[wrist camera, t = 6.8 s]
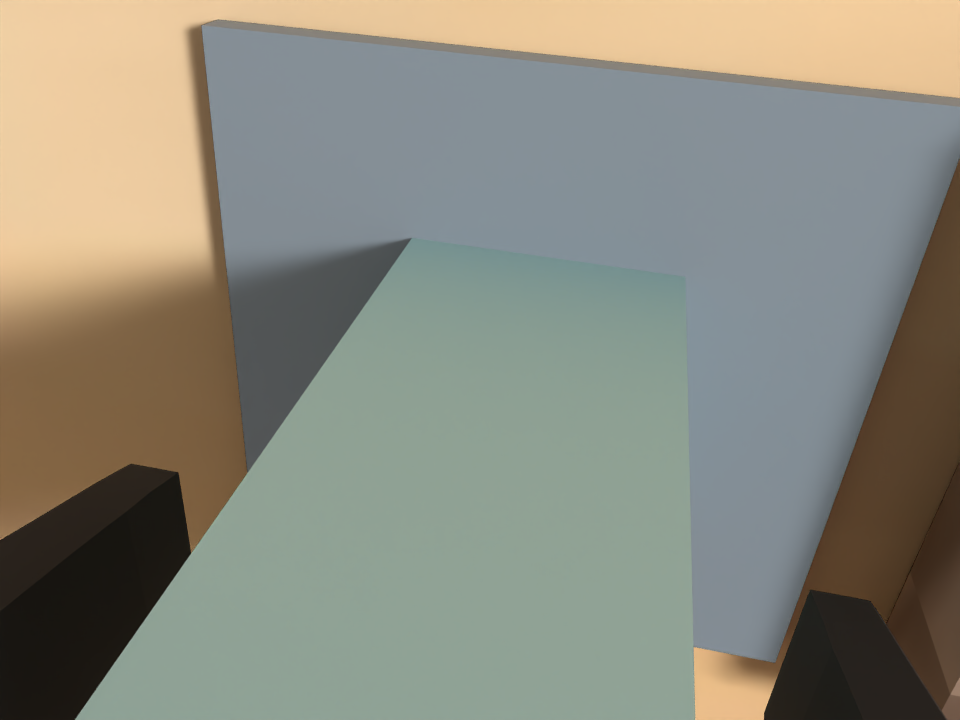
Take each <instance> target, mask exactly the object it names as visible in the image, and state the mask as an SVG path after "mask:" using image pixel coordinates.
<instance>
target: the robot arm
mask: <svg viewBox="0 0 960 720" xmlns="http://www.w3.org/2000/svg"><path fill="white" fill-rule="evenodd" d="M190 555H191V550H190V544H189V537H188V531H187V524H186V518H185V512H184V505H183V499H182V493H181V486H180V480H179V474H178V472H173V471H167V470H162V469H157V468H151V467H146V466H140V465H135V464H129V465H128V466H126V467H124V468H122V469H120V470H118V471H117V472H115V473H113V474H111V475H109V476H108V477H106V478H104V479H102V480H101V481H99V482H97V483H96V484H94V485H92V486H90V487H89V488H87V489H85V490H84V491H82V492H80V493H79V494H77V495H75V496H74V497H72V498H70V499H69V500H67V501H65V502H64V503H62V504H60V505H59V506H57V507H55V508H54V509H52V510H50V511H49V512H47V513H45V514H44V515H42V516H40V517H39V518H37V519H35V520H34V521H32V522H30V523H29V524H27V525H25V526H24V527H22V528H20V529H18V530H17V531H15V532H13V533H12V534H10V535H8V536H7V537H5V538H3V539H1V540H0V720H75V719H76V718H77V716H78V715H79V713H80V712H81V710H82V709H83V708H84V706H85V705H86V703H87V702H88V700H89V699H90V698H91V696H92V695H93V693H94V692H95V690H96V689H97V688H98V686H99V685H100V683H101V682H102V680H103V679H104V678H105V676H106V675H107V673H108V672H109V670H110V669H111V668H112V666H113V665H114V663H115V662H116V660H117V659H118V658H119V656H120V655H121V653H122V652H123V650H124V649H125V648H126V646H127V645H128V643H129V642H130V640H131V639H132V638H133V636H134V635H135V633H136V632H137V630H138V629H139V628H140V626H141V625H142V623H143V622H144V620H145V619H146V617H147V616H148V615H149V613H150V612H151V610H152V609H153V607H154V606H155V605H156V603H157V602H158V600H159V599H160V597H161V596H162V595H163V593H164V592H165V590H166V589H167V587H168V586H169V585H170V583H171V582H172V580H173V579H174V577H175V576H176V575H177V573H178V572H179V570H180V569H181V567H182V566H183V565H184V563H185V562H186V560H187V559H188V557H189V556H190ZM764 720H947V719H946V717H945V715H944V714H943V712H942V711H941V709H940V708H939V706H938V705H937V703H936V702H935V700H934V699H933V697H932V696H931V694H930V692H929V691H928V689H927V688H926V686H925V685H924V683H923V682H922V680H921V679H920V677H919V675H918V674H917V672H916V671H915V669H914V668H913V666H912V664H911V663H910V661H909V660H908V658H907V657H906V655H905V653H904V652H903V650H902V649H901V647H900V646H899V644H898V642H897V641H896V639H895V638H894V636H893V635H892V633H891V631H890V630H889V628H888V627H887V625H886V624H885V622H884V620H883V619H882V617H881V616H880V614H879V613H878V611H877V610H876V608H875V607H874V606H873V604H872V603H871V601H868V600H863V599H858V598H852V597H847V596H842V595H836V594H831V593H825V592H820V591H815V590H810V591H809V594H808V597H807V599H806V602H805V605H804V607H803V610H802V613H801V615H800V618H799V621H798V623H797V626H796V629H795V632H794V634H793V637H792V640H791V642H790V645H789V648H788V650H787V653H786V656H785V658H784V661H783V664H782V666H781V669H780V672H779V674H778V677H777V680H776V683H775V685H774V688H773V691H772V693H771V696H770V699H769V701H768V704H767V707H766V709H765V712H764Z"/></svg>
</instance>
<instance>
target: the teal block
mask: <svg viewBox="0 0 960 720" xmlns="http://www.w3.org/2000/svg"><path fill="white" fill-rule="evenodd" d="M75 720H695V694H694V649H693V603H692V558H691V512H690V467H689V421H688V376H687V331H686V285H685V277H683V276H676V275H669V274H662V273H655V272H648V271H641V270H634V269H627V268H620V267H613V266H606V265H599V264H592V263H585V262H578V261H571V260H564V259H557V258H550V257H543V256H536V255H529V254H522V253H515V252H508V251H501V250H494V249H487V248H480V247H473V246H466V245H459V244H452V243H445V242H438V241H431V240H424V239H417V238H412V239H411V240H410V242H409V243H408V245H407V246H406V247H405V249H404V250H403V252H402V253H401V255H400V256H399V257H398V259H397V260H396V262H395V263H394V265H393V266H392V267H391V269H390V270H389V272H388V273H387V275H386V276H385V277H384V279H383V280H382V282H381V283H380V285H379V286H378V287H377V289H376V290H375V292H374V293H373V295H372V296H371V297H370V299H369V300H368V302H367V303H366V305H365V306H364V307H363V309H362V310H361V312H360V313H359V315H358V316H357V317H356V319H355V320H354V322H353V323H352V325H351V326H350V327H349V329H348V330H347V332H346V333H345V335H344V336H343V337H342V339H341V340H340V342H339V343H338V345H337V346H336V347H335V349H334V350H333V352H332V353H331V355H330V356H329V357H328V359H327V360H326V362H325V363H324V365H323V366H322V367H321V369H320V370H319V372H318V373H317V375H316V376H315V377H314V379H313V380H312V382H311V383H310V385H309V386H308V387H307V389H306V390H305V392H304V393H303V395H302V396H301V397H300V399H299V400H298V402H297V403H296V405H295V406H294V407H293V409H292V410H291V412H290V413H289V415H288V416H287V417H286V419H285V420H284V422H283V423H282V425H281V426H280V427H279V429H278V430H277V432H276V433H275V435H274V436H273V437H272V439H271V440H270V442H269V443H268V445H267V446H266V447H265V449H264V450H263V452H262V453H261V455H260V456H259V457H258V459H257V460H256V462H255V463H254V465H253V466H252V467H251V469H250V470H249V472H248V473H247V475H246V476H245V477H244V479H243V480H242V482H241V483H240V485H239V486H238V487H237V489H236V490H235V492H234V493H233V495H232V496H231V497H230V499H229V500H228V502H227V503H226V505H225V506H224V507H223V509H222V510H221V512H220V513H219V515H218V516H217V517H216V519H215V520H214V522H213V523H212V525H211V526H210V527H209V529H208V530H207V532H206V533H205V535H204V536H203V537H202V539H201V540H200V542H199V543H198V545H197V546H196V547H195V549H194V550H193V552H192V553H191V555H190V556H189V557H188V559H187V560H186V562H185V563H184V565H183V566H182V567H181V569H180V570H179V572H178V573H177V575H176V576H175V577H174V579H173V580H172V582H171V583H170V585H169V586H168V587H167V589H166V590H165V592H164V593H163V595H162V596H161V597H160V599H159V600H158V602H157V603H156V605H155V606H154V607H153V609H152V610H151V612H150V613H149V615H148V616H147V617H146V619H145V620H144V622H143V623H142V625H141V626H140V628H139V629H138V630H137V632H136V633H135V635H134V636H133V638H132V639H131V640H130V642H129V643H128V645H127V646H126V648H125V649H124V650H123V652H122V653H121V655H120V656H119V658H118V659H117V660H116V662H115V663H114V665H113V666H112V668H111V669H110V670H109V672H108V673H107V675H106V676H105V678H104V679H103V680H102V682H101V683H100V685H99V686H98V688H97V689H96V690H95V692H94V693H93V695H92V696H91V698H90V699H89V700H88V702H87V703H86V705H85V706H84V708H83V709H82V710H81V712H80V713H79V715H78V716H77V718H76V719H75Z"/></svg>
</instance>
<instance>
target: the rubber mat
mask: <svg viewBox="0 0 960 720" xmlns="http://www.w3.org/2000/svg"><path fill="white" fill-rule="evenodd" d="M201 26H202V35H203V45H204V55H205V64H206V74H207V84H208V94H209V103H210V113H211V123H212V133H213V142H214V152H215V162H216V171H217V181H218V191H219V201H220V210H221V220H222V230H223V240H224V249H225V259H226V269H227V278H228V288H229V298H230V308H231V317H232V327H233V337H234V347H235V356H236V366H237V376H238V385H239V395H240V405H241V415H242V424H243V434H244V444H245V454H246V463H247V473H248V472H249V470H250V469H251V467H252V466H253V465H254V463H255V462H256V460H257V459H258V457H259V456H260V455H261V453H262V452H263V450H264V449H265V447H266V446H267V445H268V443H269V442H270V440H271V439H272V437H273V436H274V435H275V433H276V432H277V430H278V429H279V427H280V426H281V425H282V423H283V422H284V420H285V419H286V417H287V416H288V415H289V413H290V412H291V410H292V409H293V407H294V406H295V405H296V403H297V402H298V400H299V399H300V397H301V396H302V395H303V393H304V392H305V390H306V389H307V387H308V386H309V385H310V383H311V382H312V380H313V379H314V377H315V376H316V375H317V373H318V372H319V370H320V369H321V367H322V366H323V365H324V363H325V362H326V360H327V359H328V357H329V356H330V355H331V353H332V352H333V350H334V349H335V347H336V346H337V345H338V343H339V342H340V340H341V339H342V337H343V336H344V335H345V333H346V332H347V330H348V329H349V327H350V326H351V325H352V323H353V322H354V320H355V319H356V317H357V316H358V315H359V313H360V312H361V310H362V309H363V307H364V306H365V305H366V303H367V302H368V300H369V299H370V297H371V296H372V295H373V293H374V292H375V290H376V289H377V287H378V286H379V285H380V283H381V282H382V280H383V279H384V277H385V276H386V275H387V273H388V272H389V270H390V269H391V267H392V266H393V265H394V263H395V262H396V260H397V259H398V257H399V256H400V255H401V253H402V252H403V250H404V249H405V247H406V246H407V245H408V243H409V242H410V240H411V239H412V238H417V239H424V240H431V241H438V242H445V243H452V244H459V245H466V246H473V247H480V248H487V249H494V250H501V251H508V252H515V253H522V254H529V255H536V256H543V257H550V258H557V259H564V260H571V261H578V262H585V263H592V264H599V265H606V266H613V267H620V268H627V269H634V270H641V271H648V272H655V273H662V274H669V275H676V276H683V277H685V285H686V331H687V376H688V421H689V467H690V512H691V558H692V603H693V647H697V648H702V649H707V650H713V651H718V652H723V653H728V654H733V655H738V656H743V657H748V658H753V659H758V660H763V661H768V662H773V663H775V662H776V659H777V656H778V654H779V651H780V648H781V645H782V643H783V640H784V637H785V635H786V632H787V629H788V626H789V624H790V621H791V618H792V615H793V613H794V610H795V607H796V604H797V602H798V599H799V596H800V593H801V591H802V588H803V585H804V583H805V580H806V577H807V574H808V572H809V569H810V566H811V563H812V561H813V558H814V555H815V552H816V550H817V547H818V544H819V541H820V539H821V536H822V533H823V531H824V528H825V525H826V522H827V520H828V517H829V514H830V511H831V509H832V506H833V503H834V500H835V498H836V495H837V492H838V490H839V487H840V484H841V481H842V479H843V476H844V473H845V470H846V468H847V465H848V462H849V459H850V457H851V454H852V451H853V448H854V446H855V443H856V440H857V438H858V435H859V432H860V429H861V427H862V424H863V421H864V418H865V416H866V413H867V410H868V407H869V405H870V402H871V399H872V396H873V394H874V391H875V388H876V386H877V383H878V380H879V377H880V375H881V372H882V369H883V366H884V364H885V361H886V358H887V355H888V353H889V350H890V347H891V344H892V342H893V339H894V336H895V334H896V331H897V328H898V325H899V323H900V320H901V317H902V314H903V312H904V309H905V306H906V303H907V301H908V298H909V295H910V292H911V290H912V287H913V284H914V282H915V279H916V276H917V273H918V271H919V268H920V265H921V262H922V260H923V257H924V254H925V251H926V249H927V246H928V243H929V241H930V238H931V235H932V232H933V230H934V227H935V224H936V221H937V219H938V216H939V213H940V210H941V208H942V205H943V202H944V199H945V197H946V194H947V191H948V189H949V186H950V183H951V180H952V178H953V175H954V172H955V169H956V167H957V164H958V161H959V158H960V98H952V97H943V96H934V95H924V94H915V93H905V92H896V91H886V90H877V89H868V88H858V87H849V86H839V85H830V84H821V83H811V82H802V81H792V80H783V79H773V78H764V77H755V76H745V75H736V74H726V73H717V72H708V71H698V70H689V69H679V68H670V67H660V66H651V65H642V64H632V63H623V62H613V61H604V60H595V59H585V58H576V57H566V56H557V55H547V54H538V53H529V52H519V51H510V50H500V49H491V48H482V47H472V46H463V45H453V44H444V43H434V42H425V41H416V40H406V39H397V38H387V37H378V36H369V35H359V34H350V33H340V32H331V31H321V30H312V29H303V28H293V27H284V26H274V25H265V24H256V23H246V22H237V21H227V20H215V21H213V22H210V23H207V24H204V25H201Z"/></svg>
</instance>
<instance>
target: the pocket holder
mask: <svg viewBox="0 0 960 720" xmlns="http://www.w3.org/2000/svg"><path fill="white" fill-rule="evenodd" d="M886 625H887V627H888V628H889V630H890V631H891V633H892V635H893V636H894V638H895V639H896V641H897V642H898V644H899V646H900V647H901V649H902V650H903V652H904V653H905V655H906V657H907V658H908V660H909V661H910V663H911V664H912V666H913V668H914V669H915V671H916V672H917V674H918V675H919V677H920V679H921V680H922V682H923V683H924V685H925V686H926V688H927V689H928V691H929V692H930V694H931V696H932V697H933V699H934V700H935V702H936V703H937V705H938V706H939V708H940V709H941V711H942V712H943V714H944V715H945V717H946V719H947V720H960V463H959V465H958V467H957V469H956V471H955V474H954V476H953V478H952V480H951V482H950V485H949V487H948V489H947V491H946V494H945V496H944V498H943V500H942V502H941V505H940V507H939V509H938V511H937V513H936V516H935V518H934V520H933V522H932V525H931V527H930V529H929V531H928V533H927V536H926V538H925V540H924V542H923V544H922V547H921V549H920V551H919V553H918V556H917V558H916V560H915V562H914V564H913V567H912V569H911V571H910V573H909V575H908V578H907V580H906V582H905V584H904V586H903V589H902V591H901V593H900V595H899V598H898V600H897V602H896V604H895V606H894V609H893V611H892V613H891V615H890V617H889V620H888V622H887V624H886Z"/></svg>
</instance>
